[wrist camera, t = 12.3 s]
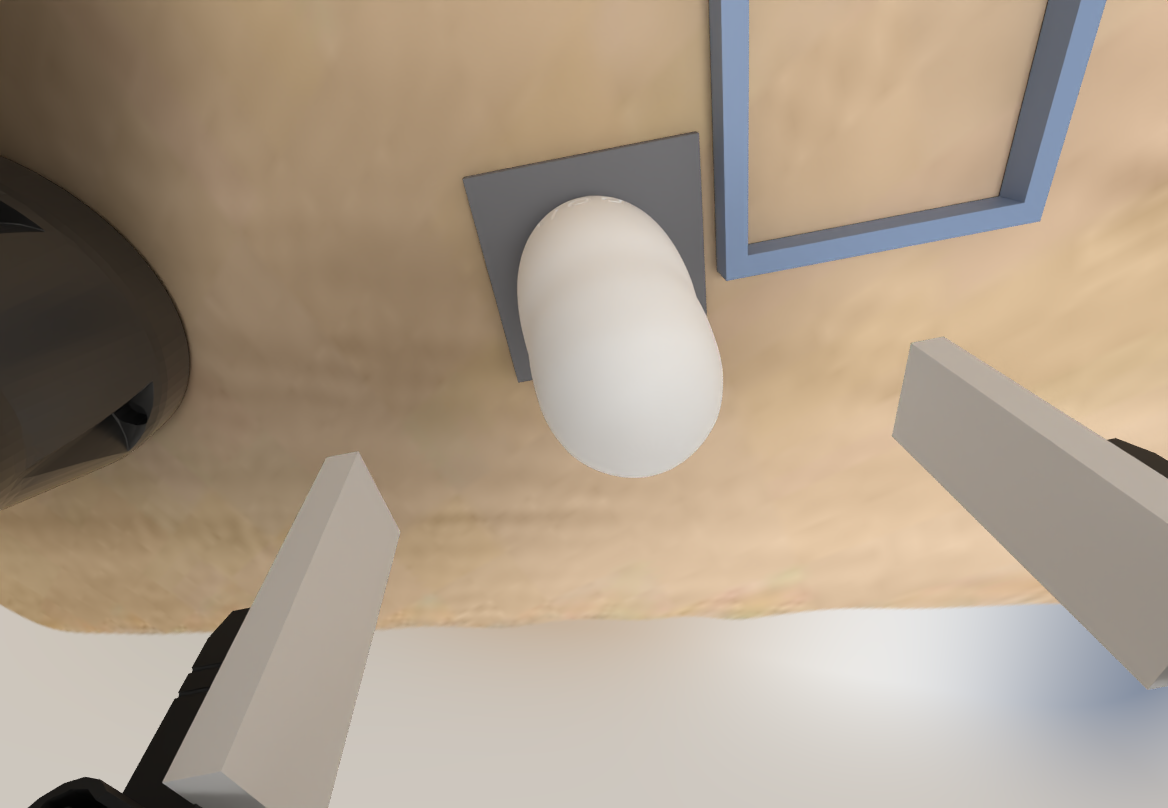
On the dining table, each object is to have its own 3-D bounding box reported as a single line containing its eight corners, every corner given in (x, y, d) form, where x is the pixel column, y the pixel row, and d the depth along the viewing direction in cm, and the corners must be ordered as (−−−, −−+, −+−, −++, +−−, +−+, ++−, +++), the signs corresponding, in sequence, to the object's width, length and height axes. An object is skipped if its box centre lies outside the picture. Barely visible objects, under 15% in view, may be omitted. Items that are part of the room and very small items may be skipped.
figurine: (548, 363, 27) (558, 540, 17) (492, 216, 23) (461, 331, 12) (683, 322, 26) (779, 479, 16) (650, 164, 22) (752, 239, 12)
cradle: (716, 270, 25) (726, 280, 24) (704, -144, 18) (717, -161, 16) (1014, 213, 25) (1040, 221, 24) (1136, -234, 17) (1183, -258, 16)
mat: (518, 376, 28) (518, 382, 27) (464, 176, 22) (462, 179, 22) (704, 342, 27) (708, 346, 27) (695, 131, 22) (698, 132, 22)
